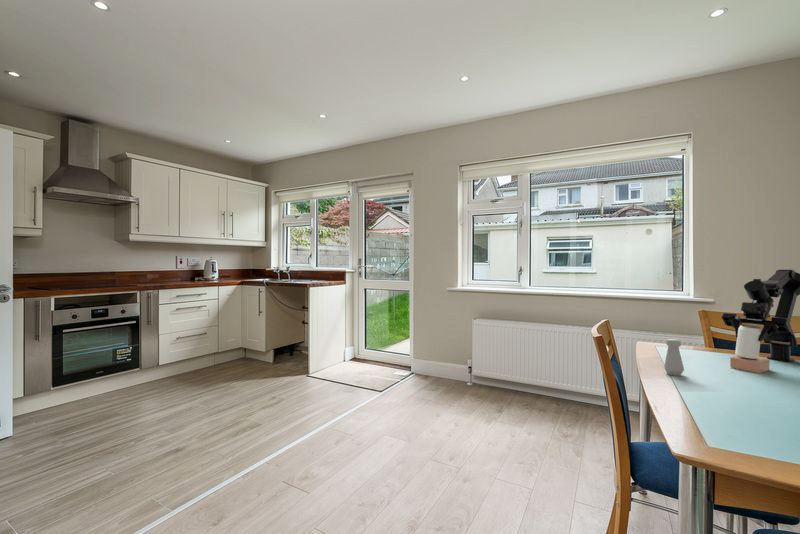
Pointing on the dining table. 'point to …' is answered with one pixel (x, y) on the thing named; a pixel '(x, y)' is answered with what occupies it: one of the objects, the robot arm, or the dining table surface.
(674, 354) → the salt shaker
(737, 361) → the peach block
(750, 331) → the can
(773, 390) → the dining table surface
